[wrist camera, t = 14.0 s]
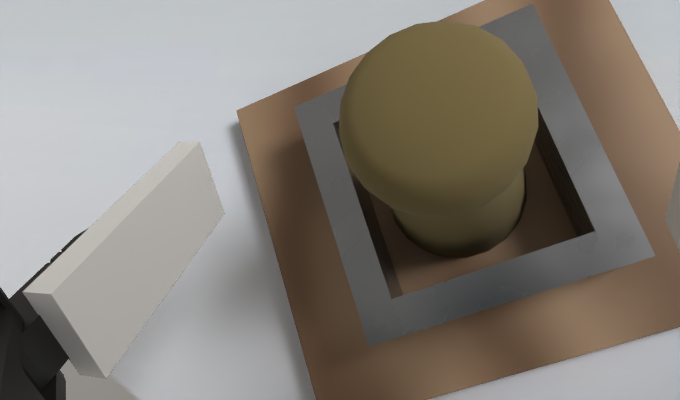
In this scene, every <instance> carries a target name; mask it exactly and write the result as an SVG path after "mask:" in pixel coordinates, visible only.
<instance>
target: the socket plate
mask: <svg viewBox="0 0 680 400" xmlns="http://www.w3.org/2000/svg"><path fill="white" fill-rule="evenodd" d="M440 21H452V22H458V23H463V24H469V25H475V26H477V27H479V28H481V29H483V30H485V31H487V32H489V33H491V34H493V35H495V36H496V37H498V38H500V39H502V40H503V41H504V42H505V43H506V44H507V45H508V46H509V47H510V48H511V50H512V51H513V52H514V53H515V54H516V55H517V56H518V57H519V58H520V59H521V60H522V62H523V64H524V66H525V68H526V70H527V73H528V75H529V77H530V80H531V82H532V84H533V87H534V89H535V91H536V94H537V101H538V125H539V127H538V130H537V133H536V136H535V139H534V143H533V146H532V149H531V152H530V155H529V158H528V161H527V163H526V165H525V166H524V167H523V169H524V172H525V175H526V187H527V201H526V204H525V207H524V210H523V213H522V217H521V220H520V221H519V223H518V224H517V225H516V227H515V228H514V229H513V231H512V232H511V233H510V235H509V236H508V238H506V239H505V240H504V241H502V242H501V243H499V244H498V245H496V246H495V247H494V248H492V249H491V250H489V251H487V252H484V253H480V254H477V255H474V256H471V257H467V258H457V257H442V256H439V255H436V254H433V253H430V252H427V251H424V250H423V249H421V248H420V247H418V246H417V245H416V244H414V243H413V242H412V241H410V240H409V239H408V238H406V236H405V235H404V233H403V232H402V231H401V229H400V228H399V226H398V225H397V224H396V222H395V221H394V217H393V214H392V211H391V208H390V206H389V205H387V204H386V203H384V202H383V201H382V200H380V199H379V198H377V197H376V196H375V195H373V194H372V193H371V192H369V191H368V190H367V189H365V188H364V186H363V185H362V184H361V182H360V181H359V179H358V178H357V177H356V175H355V174H354V172H353V171H352V170H351V168H350V167H349V165H348V163H347V160H346V156H345V153H344V150H343V146H342V143H341V139H340V134H339V118H340V102H341V99H342V96H343V93H344V91H345V88H346V85H347V82H348V79H349V77H350V75H351V74H352V72H353V71H354V70H355V68H356V67H357V66H358V64H359V63H360V61H361V60H362V59H363V57H364V56H365V55H366V53H365V54H363V55H361V56H359V57H356V58H354V59H352V60H350V61H347V62H345V63H343V64H341V65H338V66H336V67H334V68H332V69H329V70H327V71H325V72H323V73H320V74H318V75H316V76H314V77H311V78H309V79H307V80H305V81H302V82H300V83H298V84H295V85H293V86H291V87H289V88H286V89H284V90H282V91H280V92H277V93H275V94H273V95H271V96H268V97H266V98H264V99H262V100H259V101H257V102H255V103H253V104H250V105H248V106H246V107H244V108H241V109H239V110H237V115H238V118H239V122H240V126H241V129H242V133H243V136H244V140H245V144H246V147H247V151H248V154H249V158H250V162H251V165H252V169H253V173H254V176H255V180H256V183H257V187H258V191H259V194H260V198H261V201H262V205H263V209H264V212H265V216H266V219H267V223H268V227H269V230H270V234H271V237H272V241H273V245H274V248H275V252H276V256H277V259H278V263H279V266H280V270H281V274H282V277H283V281H284V284H285V288H286V292H287V295H288V299H289V302H290V306H291V310H292V313H293V317H294V321H295V324H296V328H297V331H298V335H299V339H300V342H301V346H302V349H303V353H304V357H305V360H306V364H307V367H308V371H309V375H310V378H311V382H312V385H313V389H314V393H315V396H316V400H427V399H430V398H434V397H437V396H441V395H444V394H448V393H451V392H455V391H458V390H462V389H465V388H469V387H472V386H476V385H479V384H483V383H486V382H490V381H493V380H496V379H500V378H503V377H507V376H510V375H514V374H517V373H521V372H524V371H528V370H531V369H535V368H538V367H542V366H545V365H549V364H552V363H556V362H559V361H563V360H566V359H570V358H573V357H577V356H580V355H584V354H587V353H591V352H594V351H598V350H601V349H605V348H608V347H612V346H615V345H619V344H622V343H625V342H629V341H632V340H636V339H639V338H643V337H646V336H650V335H653V334H657V333H660V332H664V331H667V330H671V329H674V328H678V327H680V251H679V249H678V247H677V245H676V243H675V241H674V239H673V236H672V234H671V232H670V230H669V228H668V226H667V223H666V221H665V219H666V215H667V211H668V207H669V202H670V198H671V194H672V190H673V186H674V182H675V178H676V174H677V170H678V166H679V162H680V131H679V129H678V127H677V125H676V124H675V122H674V120H673V118H672V116H671V114H670V112H669V111H668V109H667V107H666V105H665V103H664V101H663V99H662V98H661V96H660V94H659V92H658V90H657V88H656V86H655V85H654V83H653V81H652V79H651V77H650V75H649V73H648V72H647V70H646V68H645V66H644V64H643V62H642V61H641V59H640V57H639V55H638V53H637V51H636V49H635V48H634V46H633V44H632V42H631V40H630V38H629V36H628V35H627V33H626V31H625V29H624V27H623V25H622V23H621V22H620V20H619V18H618V16H617V14H616V12H615V10H614V9H613V7H612V5H611V3H610V1H609V0H485V1H482V2H480V3H478V4H476V5H473V6H471V7H469V8H467V9H464V10H462V11H460V12H458V13H455V14H453V15H451V16H449V17H446V18H444V19H442V20H440ZM437 22H439V21H437Z"/></svg>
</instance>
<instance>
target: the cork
mask: <svg viewBox="0 0 680 400" xmlns="http://www.w3.org/2000/svg"><path fill="white" fill-rule="evenodd" d="M538 127H539V125H538V101H537V94H536V91H535V89H534V87H533V84H532V82H531V80H530V77H529V75H528V73H527V70H526V68H525V66H524V64H523V62H522V60H521V59H520V58H519V57H518V56H517V55H516V54H515V53H514V52H513V51H512V50H511V48H510V47H509V46H508V45H507V44H506V43H505V42H504V41H503V40H502V39H500V38H498V37H496V36H495V35H493V34H491V33H489V32H487V31H485V30H483V29H481V28H479V27H477V26H475V25H469V24H463V23H458V22H452V21H439V22H430V23H422V24H416V25H413V26H411V27H408V28H406V29H404V30H401V31H399V32H396V33H394V34H392V35H389V36H388V37H387V38H386V39H384V40H383V41H382V42H380V43H379V44H378V45H377V46H375V47H374V48H373V49H371V50H370V51H369V52H368V53H366V55H365V56H364V57H363V59H362V60H361V61H360V63H359V64H358V66H357V67H356V68H355V70H354V71H353V72H352V74H351V75H350V77H349V79H348V82H347V85H346V88H345V91H344V93H343V96H342V99H341V102H340V118H339V134H340V139H341V143H342V146H343V150H344V153H345V156H346V160H347V163H348V165H349V167H350V168H351V170H352V171H353V172H354V174H355V175H356V177H357V178H358V179H359V181H360V182H361V184H362V185H363V186H364V188H365V189H367V190H368V191H369V192H371V193H372V194H373V195H375V196H376V197H377V198H379V199H380V200H382V201H383V202H384V203H386V204H387V205H389V206H390V208H391V211H392V214H393V217H394V221H395V222H396V224H397V225H398V226H399V228H400V229H401V231H402V232H403V233H404V235H405V236H406V238H408V239H409V240H410V241H412V242H413V243H414V244H416V245H417V246H418V247H420V248H421V249H423V250H424V251H427V252H430V253H433V254H436V255H439V256H442V257H457V258H467V257H471V256H474V255H477V254H480V253H484V252H487V251H489V250H491V249H492V248H494V247H495V246H496V245H498V244H499V243H501V242H502V241H504V240H505V239H506V238H508V236H509V235H510V233H511V232H512V231H513V229H514V228H515V227H516V225H517V224H518V223H519V221H520V220H521V217H522V213H523V210H524V207H525V204H526V201H527V187H526V175H525V172H524V169H523V167H524V166H525V165H526V163H527V161H528V158H529V155H530V152H531V149H532V146H533V143H534V139H535V136H536V133H537V130H538Z"/></svg>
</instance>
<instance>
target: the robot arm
mask: <svg viewBox="0 0 680 400" xmlns="http://www.w3.org/2000/svg"><path fill="white" fill-rule="evenodd" d="M224 214H225V213H224V210H223V207H222V204H221V201H220V199H219V196H218V193H217V190H216V187H215V184H214V181H213V178H212V176H211V173H210V170H209V167H208V164H207V161H206V158H205V155H204V152H203V150H202V147H201V144H200V142H178V143H177V144H176V145H175V146H174V147H173V148H172V149H171V150H170V151H169V152H168V153H167V154H166V155H165V156H163V157H162V158H161V159H160V160H159V161H158V162H157V163H156V164H155V165H154V166H153V167H152V168H151V169H150V170H149V171H148V172H147V173H146V174H145V175H144V176H143V177H142V178H141V179H139V180H138V181H137V182H136V183H135V184H134V185H133V186H132V187H131V188H130V189H129V190H128V191H127V192H126V193H125V194H124V195H123V196H122V197H121V198H120V199H119V200H118V201H117V202H116V203H114V204H113V205H112V206H111V207H110V208H109V209H108V210H107V211H106V212H105V213H104V214H103V215H102V216H101V217H100V218H99V219H98V220H97V221H96V222H95V223H94V224H93V225H92V226H90V227H89V228H88V229H86V230H85V231H83V232H82V233H80V234H78V235H77V236H75V237H74V238H73V239H72V240H71V241H70V242H69V243H68V244H67V245H66V246H65V247H64V248H63V249H61V250H62V252H58V253H57V254H56V255H55V256H54V257H53V258H52V259H51V260H50V263H47V264H46V265H45V266H44V267H42V268H41V269H40V270H39V271H38V272H37V273H36V274H35V275H34V276H33V277H32V278H31V279H30V280H29V281H28V282H27V283H26V284H25V285H23V286H22V287H21V288H20V289H19V290H18V291H17V292H16V293H15V294H14V295H13V296H12V297H11V298H10V299H8V297H7V296H6V295H5V293H4V292H3V290H2V289H1V288H0V400H66V381H65V378H64V375H63V374H62V372H61V371H60V369H61V367H62V366H63V365H64V364H65V362H66V361H67V360H68V359H69V360H70V361H71V363H72V364H73V366H74V367H75V369H76V370H77V372H78V373H79V374H80V375H84V376H92V377H99V378H107V377H108V375H109V374H110V373H111V371H112V370H113V368H114V367H115V366H116V364H117V363H118V361H119V360H120V359H121V357H122V356H123V354H124V353H125V352H126V350H127V349H128V347H129V346H130V345H131V343H132V342H133V341H134V339H135V338H136V336H137V335H138V334H139V332H140V331H141V329H142V328H143V327H144V325H145V324H146V322H147V321H148V320H149V318H150V317H151V315H152V314H153V313H154V311H155V310H156V308H157V307H158V306H159V304H160V303H161V301H162V300H163V299H164V297H165V296H166V294H167V293H168V292H169V290H170V289H171V288H172V286H173V285H174V283H175V282H176V281H177V279H178V278H179V276H180V275H181V274H182V272H183V271H184V269H185V268H186V267H187V265H188V264H189V262H190V261H191V260H192V258H193V257H194V255H195V254H196V253H197V251H198V250H199V248H200V247H201V246H202V244H203V243H204V242H205V240H206V239H207V237H208V236H209V235H210V233H211V232H212V230H213V229H214V228H215V226H216V225H217V223H218V222H219V221H220V219H221V218H222V216H223V215H224ZM665 221H666V223H667V226H668V228H669V230H670V232H671V234H672V236H673V239H674V241H675V243H676V245H677V247H678V249H679V251H680V162H679V166H678V170H677V174H676V178H675V182H674V186H673V190H672V194H671V198H670V202H669V207H668V211H667V215H666V219H665Z"/></svg>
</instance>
